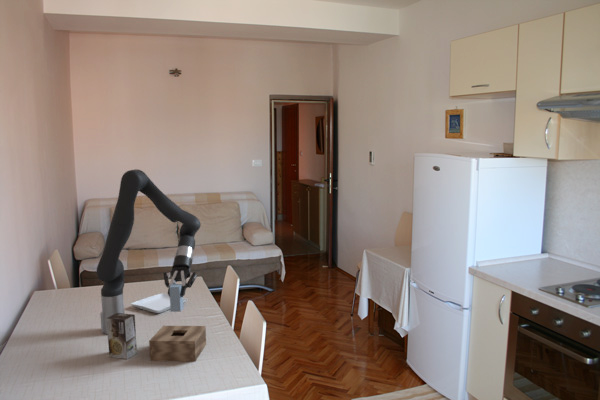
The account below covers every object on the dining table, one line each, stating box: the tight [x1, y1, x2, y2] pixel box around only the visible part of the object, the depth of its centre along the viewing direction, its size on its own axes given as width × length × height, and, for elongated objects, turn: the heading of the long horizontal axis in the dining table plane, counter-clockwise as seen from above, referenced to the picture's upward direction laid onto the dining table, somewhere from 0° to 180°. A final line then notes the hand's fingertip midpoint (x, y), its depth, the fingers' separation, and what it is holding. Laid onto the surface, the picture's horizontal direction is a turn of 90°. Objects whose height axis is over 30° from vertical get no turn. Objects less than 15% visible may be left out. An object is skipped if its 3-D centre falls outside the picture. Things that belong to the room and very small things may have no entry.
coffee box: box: [106, 313, 138, 360], centre depth 194 cm, size 9×6×16 cm
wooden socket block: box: [148, 325, 207, 362], centre depth 196 cm, size 18×16×8 cm
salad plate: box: [130, 292, 189, 314], centre depth 254 cm, size 21×21×3 cm
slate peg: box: [168, 283, 184, 313], centre depth 194 cm, size 4×4×10 cm
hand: (175, 295), depth 193 cm, fingers closed on slate peg, 4 cm apart
